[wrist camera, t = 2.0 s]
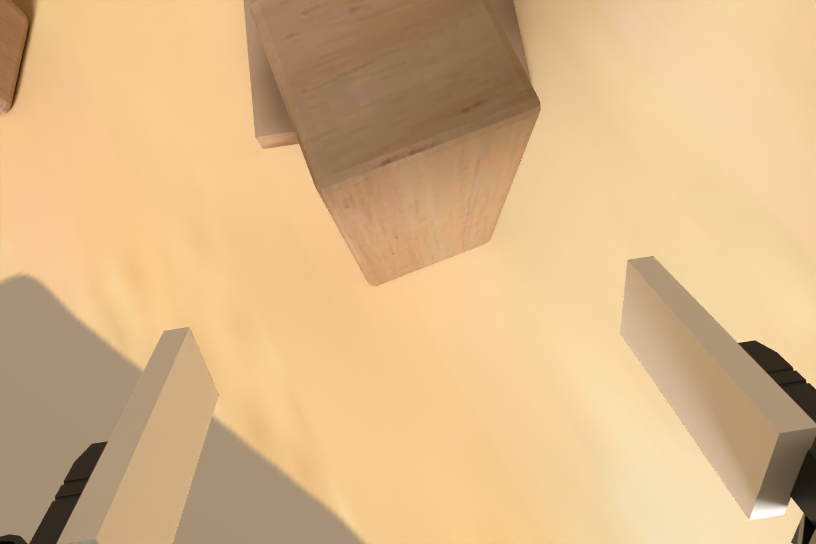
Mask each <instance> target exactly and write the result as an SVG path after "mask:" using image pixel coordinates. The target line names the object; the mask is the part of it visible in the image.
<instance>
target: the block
mask: <svg viewBox="0 0 816 544" xmlns="http://www.w3.org/2000/svg"><path fill="white" fill-rule="evenodd" d="M28 26H29V24H28V19H27V17H26V15H25V13H24V12H23V11H22V10H21V9H20V8H19V7H18V6H17V5H16V4H15V3H14V2H13V1H11V0H0V115H1V114H4V113H7V111H8V110H9V109H10V107H11V104H12V99H13V95H14V90H15V86H16V81H17V76H18V72H19V67H20V63H21V58H22V53H23V49H24V44H25V40H26V35H27V31H28Z"/></svg>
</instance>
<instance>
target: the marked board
mask: <svg viewBox="0 0 816 544" xmlns="http://www.w3.org/2000/svg"><path fill="white" fill-rule="evenodd" d="M489 1H490V3H491V5H492V7H493V9H494V11H495V13H496V15H497V17H498V19H499V21H500V23H501V25H502V27H503V29H504V31H505V33H506V35H507V37H508V39H509V41H510V43H511V45H512V47H513V49H514V51H515V53H516V55H517V57H518V59H519V61H520V63H521V65H522V67H523V69H524V71H525V73H526V75H527V77H528V79H529V81H530V77H529V72H528V68H527V63H526V59H525V54H524V50H523V45H522V41H521V36H520V32H519V27H518V23H517V18H516V14H515V9H514V5H513V0H489ZM250 7H251V0H244V9H245V20H246V32H247V44H248V55H249V67H250V79H251V90H252V102H253V114H254V125H255V137H256V139H257V140H258V142H259V143H260V145H261V146H262V148H263V149H266V148H272V147H279V146H285V145H292V144H298V143H299V142H298V139H297V136H296V134H295V131H294V128H293V126H292V123H291V120H290V118H289V115H288V112H287V110H286V107H285V104H284V102H283V99H282V96H281V94H280V91H279V88H278V85H277V83H276V80H275V77H274V75H273V72H272V69H271V67H270V64H269V61H268V59H267V56H266V53H265V51H264V48H263V45H262V43H261V40H260V37H259V35H258V32H257V29H256V27H255V24H254V21H253V19H252V16H251V13H250ZM530 83H531V81H530Z"/></svg>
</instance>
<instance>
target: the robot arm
mask: <svg viewBox="0 0 816 544" xmlns="http://www.w3.org/2000/svg"><path fill="white" fill-rule="evenodd" d="M620 333H621V335H622V336H623V338H624V339H625V341H626V342H627V344H628V345H629V346H630V348H631V349H632V351H633V352H634V354H635V355H636V357H637V358H638V360H639V361H640V362H641V364H642V365H643V367H644V368H645V370H646V371H647V373H648V374H649V375H650V377H651V378H652V380H653V381H654V383H655V384H656V386H657V387H658V389H659V390H660V391H661V393H662V394H663V396H664V397H665V399H666V400H667V402H668V403H669V404H670V406H671V407H672V409H673V410H674V412H675V413H676V415H677V416H678V417H679V419H680V420H681V422H682V423H683V425H684V426H685V428H686V429H687V431H688V432H689V433H690V435H691V436H692V438H693V439H694V441H695V442H696V444H697V445H698V446H699V448H700V449H701V451H702V452H703V454H704V455H705V457H706V458H707V459H708V461H709V462H710V464H711V465H712V467H713V468H714V470H715V471H716V473H717V474H718V475H719V477H720V478H721V480H722V481H723V483H724V484H725V486H726V487H727V488H728V490H729V491H730V493H731V494H732V496H733V497H734V499H735V500H736V502H737V503H738V504H739V506H740V507H741V509H742V510H743V512H744V513H745V515H746V516H747V517H748V519H749V520H752V519H759V518H765V517H772V516H778V515H784V513H785V511H786V508H787V506H788V503H789V501H790V498H791V497H792V499H793V500H794V501H795V502H796V504H797V505H798V506H799V507H800V509H801V510H802V511H803V512H804V514H803V516H802V518H801V521H800V523H799V525H798V528H797V530H796V532H795V535H794V537H793V539H792V541H791V543H793V544H816V389H815V388H814V387H813V386H812V385H811V384H810V383H808V384H807V383H806V380H805V379H804V378H803V377H802V376H801V375H800V374H799V373H798V372H797V371H794V370H793V367H792V366H791V365H790V364H789V363H788V362H787V361H786V360H784V359H783V358H782V357H781V356H780V355H779V354H778V353H777V352H775V351H773V350H772V349H770V348H768V347H766V346H764V345H762V344H761V343H759V342H757V341H749V342H742V343H737V342H736V341H735V340H734V339H733V338H732V337H731V336H730V335H729V334H728V333H727V332H726V331H725V330H724V329H723V328H722V326H721V325H720V324H719V323H718V322H717V321H716V320H715V319H714V318H713V317H712V316H711V315H710V314H709V313H708V312H707V311H706V310H705V309H704V308H703V307H702V306H701V305H700V304H699V303H698V302H697V301H696V300H695V299H694V298H693V297H692V296H691V295H690V294H689V293H688V292H687V290H686V289H685V288H684V287H683V286H682V285H681V284H680V283H679V282H678V281H677V280H676V279H675V278H674V277H673V276H672V275H671V274H670V273H669V272H668V271H667V270H666V269H665V268H664V267H663V266H662V265H661V264H660V263H659V262H658V261H657V260H656V259H655V258H654V257H653V256H651V257H644V258H637V259H631V260H628V261H627V271H626V281H625V290H624V300H623V309H622V319H621V328H620ZM218 395H219V394H218V392H217V389H216V387H215V385H214V382H213V380H212V378H211V375H210V373H209V371H208V368H207V366H206V364H205V361H204V359H203V357H202V354H201V352H200V350H199V348H198V345H197V343H196V341H195V338H194V336H193V334H192V331H191V329H190V327H187V328H180V329H174V330H167V331H164V332H163V334H162V336H161V338H160V340H159V342H158V344H157V346H156V348H155V350H154V352H153V354H152V356H151V358H150V360H149V362H148V364H147V366H146V368H145V370H144V372H143V374H142V376H141V377H140V379H139V382H138V383H137V385H136V387H135V389H134V391H133V393H132V395H131V397H130V399H129V401H128V403H127V405H126V407H125V409H124V411H123V413H122V415H121V417H120V419H119V421H118V423H117V425H116V427H115V429H114V431H113V433H112V435H111V437H110V439H109V441H108V442H101V443H95V444H91V446H89V447H88V448H87V450H86V451H85V452H84V453H83V454H82V455H81V456H80V457H79V458H78V459H77V460H76V461H75V462H74V464H73V466H72V468H71V469H70V472H69V473H68V475H67V476H66V478H65V480H64V485H61V487H60V489H59V491H58V493H57V494H56V496H55V501H53V502H52V504H51V506H50V507H49V509H48V511H47V513H46V514H45V516H44V518H43V520H42V522H41V524H40V525H39V527H38V529H37V531H36V533H35V534H34V536H33V538H32V540H31V542H30V544H173V541H174V537H175V534H176V531H177V528H178V525H179V521H180V518H181V515H182V512H183V508H184V505H185V501H186V498H187V496H188V492H189V489H190V486H191V483H192V479H193V476H194V473H195V470H196V466H197V463H198V460H199V457H200V453H201V450H202V447H203V444H204V441H205V437H206V434H207V431H208V427H209V424H210V421H211V418H212V415H213V412H214V408H215V405H216V402H217V399H218ZM0 544H27V543H26V542H25V541H24V540H23V538H22V537H20V536H17V535H10V534H9V535H6V536H1V537H0Z"/></svg>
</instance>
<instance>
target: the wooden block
mask: <svg viewBox="0 0 816 544" xmlns="http://www.w3.org/2000/svg"><path fill="white" fill-rule="evenodd" d="M250 13H251V16H252V19H253V21H254V24H255V27H256V29H257V32H258V35H259V37H260V40H261V43H262V45H263V48H264V51H265V53H266V56H267V59H268V61H269V64H270V67H271V69H272V72H273V75H274V77H275V80H276V83H277V85H278V88H279V91H280V94H281V96H282V99H283V102H284V104H285V107H286V110H287V112H288V115H289V118H290V120H291V123H292V126H293V128H294V131H295V134H296V136H297V139H298V142H299V144H300V147H301V150H302V152H303V155H304V158H305V160H306V163H307V166H308V168H309V171H310V174H311V177H312V179H313V182H314V185H315V187H316V189H317V191H318V193H319V194H320V196H321V198H322V200H323V202H324V203H325V205H326V207H327V209H328V211H329V213H330V214H331V216H332V218H333V220H334V222H335V223H336V225H337V227H338V229H339V231H340V232H341V234H342V236H343V238H344V240H345V242H346V243H347V245H348V247H349V249H350V251H351V252H352V254H353V256H354V258H355V260H356V261H357V263H358V265H359V267H360V269H361V270H362V272H363V274H364V276H365V278H366V280H367V281H368V283H369V284H370V285H371V286H378V285H380V284H383V283H385V282H388V281H390V280H393V279H396V278H398V277H401V276H403V275H406V274H408V273H411V272H414V271H416V270H419V269H421V268H424V267H426V266H429V265H431V264H434V263H437V262H439V261H442V260H444V259H447V258H449V257H452V256H455V255H457V254H460V253H462V252H465V251H467V250H470V249H473V248H475V247H478V246H480V245H483V244H485V243H487V242H488V241H489V240H490V239H491V236H492V233H493V231H494V228H495V226H496V223H497V221H498V218H499V215H500V213H501V210H502V208H503V205H504V202H505V200H506V197H507V195H508V192H509V190H510V187H511V184H512V182H513V179H514V177H515V174H516V172H517V169H518V166H519V164H520V161H521V159H522V156H523V154H524V151H525V148H526V146H527V143H528V141H529V138H530V135H531V133H532V130H533V128H534V125H535V123H536V120H537V117H538V115H539V112H540V101H539V99H538V97H537V95H536V93H535V91H534V89H533V87H532V85H531V83H530V81H529V79H528V77H527V75H526V73H525V71H524V69H523V67H522V65H521V63H520V61H519V59H518V57H517V55H516V53H515V51H514V49H513V47H512V45H511V43H510V41H509V39H508V37H507V35H506V33H505V31H504V29H503V27H502V25H501V23H500V21H499V19H498V17H497V15H496V13H495V11H494V9H493V7H492V5H491V3H490V1H489V0H251V7H250Z"/></svg>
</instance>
